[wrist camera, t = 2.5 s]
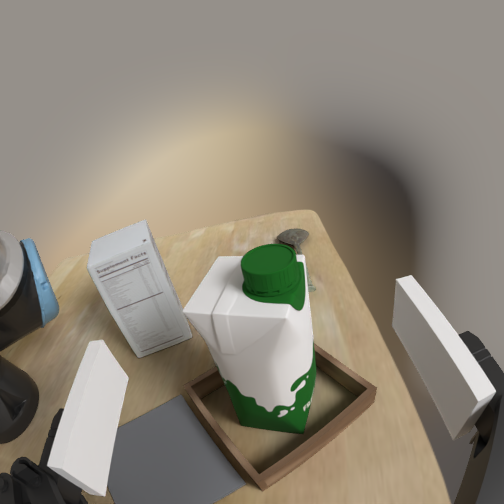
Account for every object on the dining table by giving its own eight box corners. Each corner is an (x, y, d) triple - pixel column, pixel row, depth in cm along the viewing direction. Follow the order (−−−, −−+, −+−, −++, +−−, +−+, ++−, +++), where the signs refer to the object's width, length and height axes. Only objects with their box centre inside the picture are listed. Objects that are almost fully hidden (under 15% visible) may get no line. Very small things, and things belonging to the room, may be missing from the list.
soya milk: (310, 442, 28) (288, 299, 18) (229, 430, 31) (159, 293, 21) (323, 378, 35) (309, 227, 25) (251, 372, 38) (207, 232, 28)
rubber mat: (92, 441, 31) (91, 440, 31) (181, 395, 36) (180, 394, 36) (133, 540, 19) (132, 539, 19) (246, 483, 25) (245, 483, 25)
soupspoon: (306, 233, 69) (277, 239, 69) (304, 219, 67) (274, 226, 68) (330, 290, 49) (290, 299, 50) (328, 272, 48) (286, 282, 48)
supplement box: (182, 305, 53) (148, 217, 45) (194, 338, 45) (154, 239, 37) (132, 324, 51) (90, 239, 43) (136, 360, 43) (84, 267, 35)
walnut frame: (191, 399, 36) (183, 385, 34) (288, 337, 42) (285, 322, 41) (262, 491, 24) (257, 483, 22) (374, 402, 30) (376, 387, 29)
